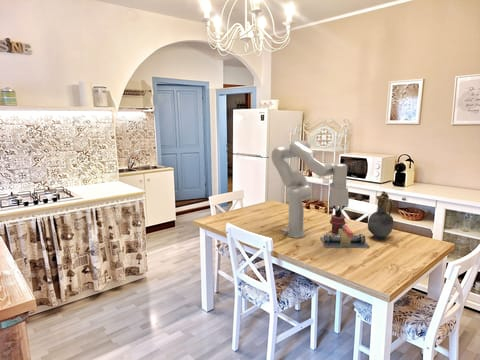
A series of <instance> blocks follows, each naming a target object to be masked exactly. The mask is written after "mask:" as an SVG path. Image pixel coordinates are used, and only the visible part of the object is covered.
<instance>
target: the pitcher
mask: <svg viewBox="0 0 480 360" xmlns="http://www.w3.org/2000/svg"><path fill="white" fill-rule="evenodd" d="M375 198H376V200H377V205H376V206H377V211H374V212H373V213H372V214H371V215H370V216H369V218H368V220H367V229H368V230H367V231H368V232H370V233H371V234H372V235H373V236H372V237H373V239H375V240H378V241H384V240H386V238H387V237H388V236H389V235H390V234H391V233H392V231H393V228H394V218H393V216H392V215H391V213H392V210H393V208H394V207H393V205H394V202H393V200H392V198H390V196H389V195H388V193H387V192H386V191H385V190H384V191H381V193H380V195H376V196H375ZM388 202H390V207H389V212H387V207H388Z"/></svg>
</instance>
